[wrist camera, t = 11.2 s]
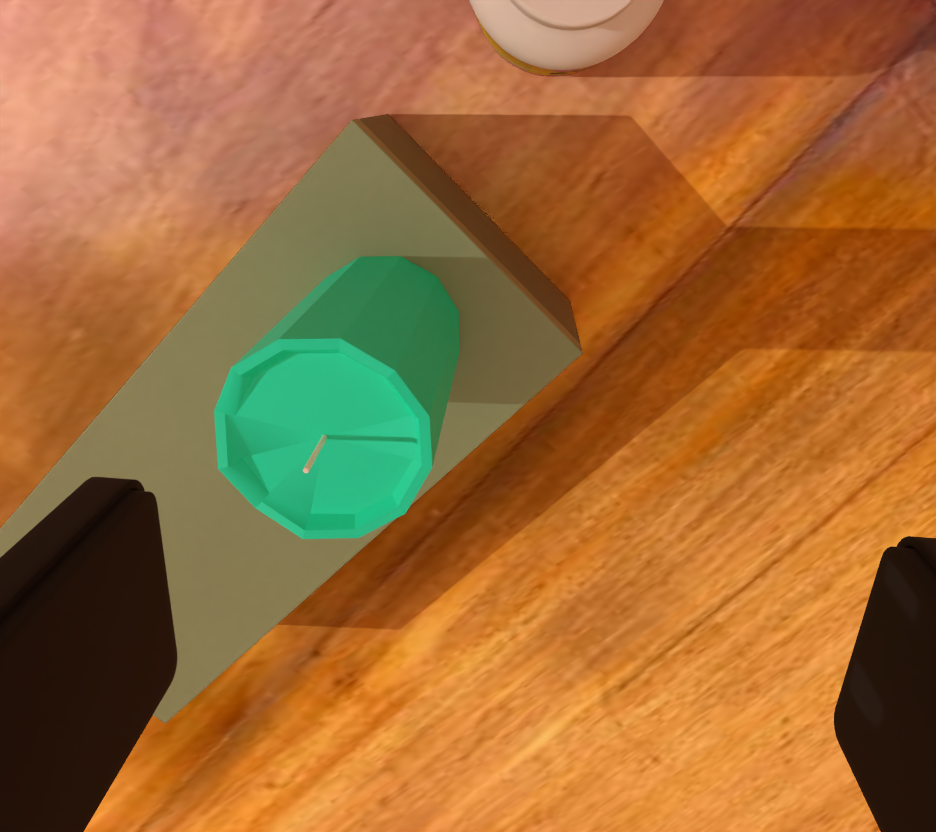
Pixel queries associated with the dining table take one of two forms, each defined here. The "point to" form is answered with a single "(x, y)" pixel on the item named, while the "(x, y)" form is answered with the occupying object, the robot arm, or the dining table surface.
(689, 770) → the dining table surface
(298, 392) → the candle
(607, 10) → the supplement bottle
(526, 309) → the shelf
